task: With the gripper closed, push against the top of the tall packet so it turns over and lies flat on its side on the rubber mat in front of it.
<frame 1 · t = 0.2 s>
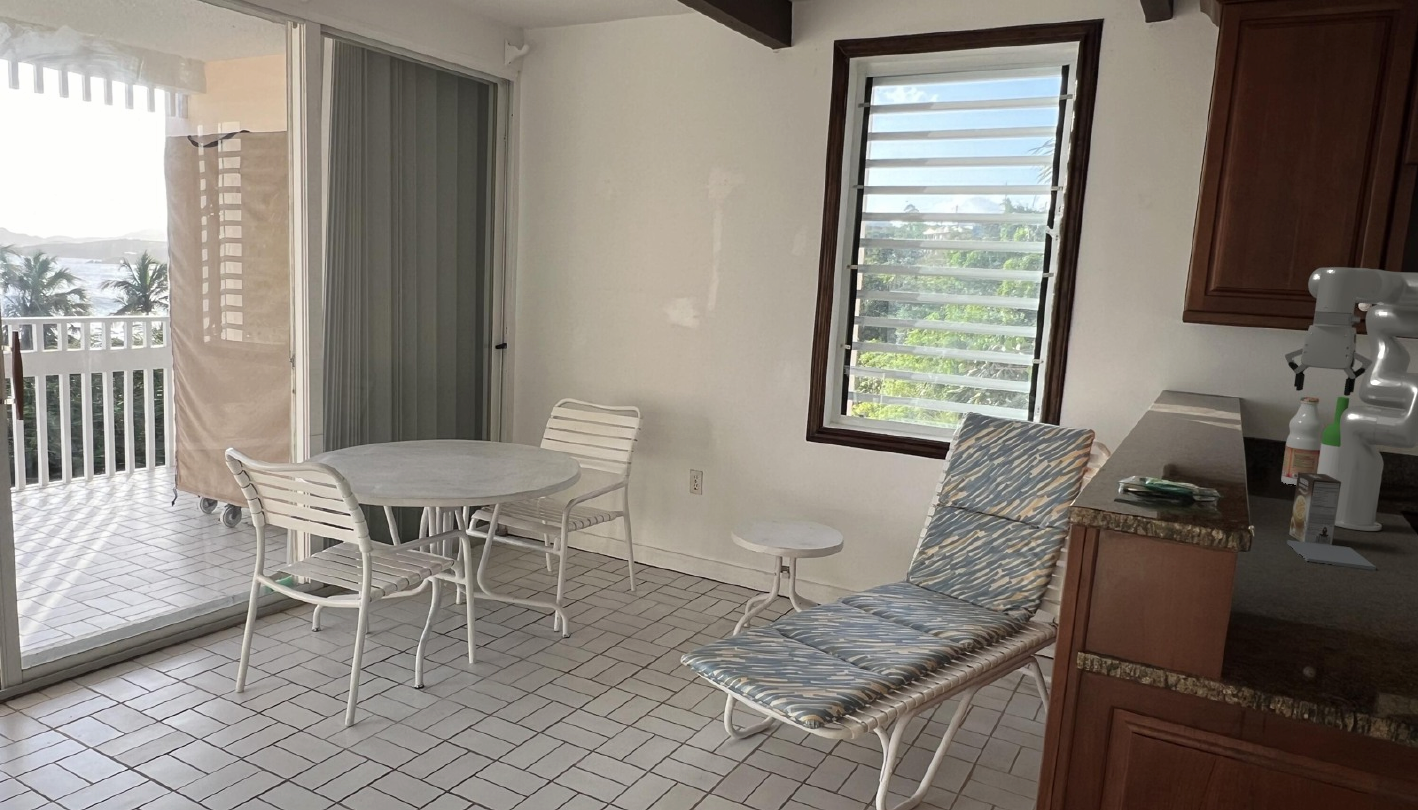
hand: (1322, 392, 215), 36 cm above the countertop, tool pointing down, fingers open, 9 cm apart
fruit juice: (1297, 485, 291), on the countertop
coffee box: (1309, 541, 222), on the countertop
rubber mat: (1329, 556, 208), on the countertop
wine bottle: (1329, 495, 277), on the countertop
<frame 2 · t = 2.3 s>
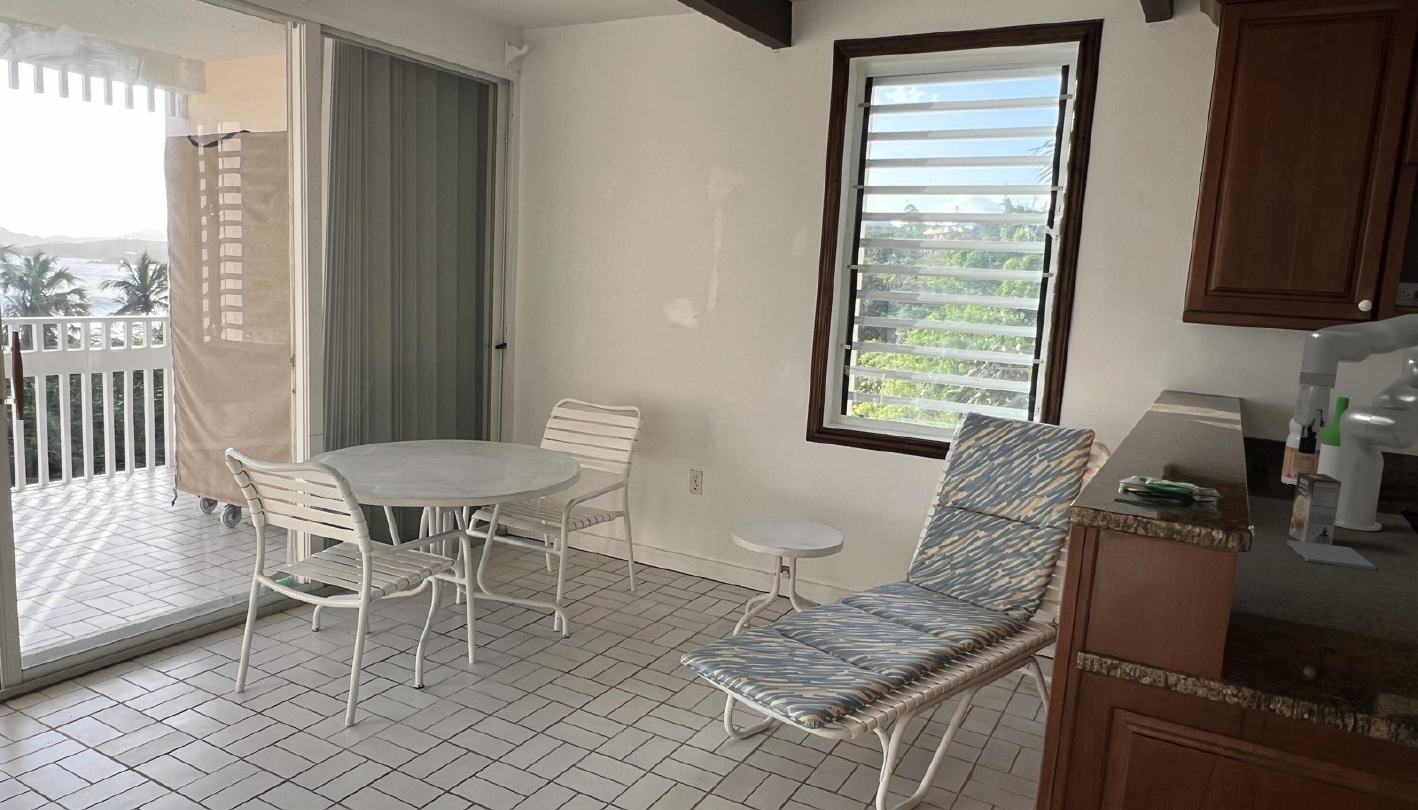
hand: (1306, 452, 229), 20 cm above the countertop, tool pointing down, fingers closed
nothing on the countertop moved.
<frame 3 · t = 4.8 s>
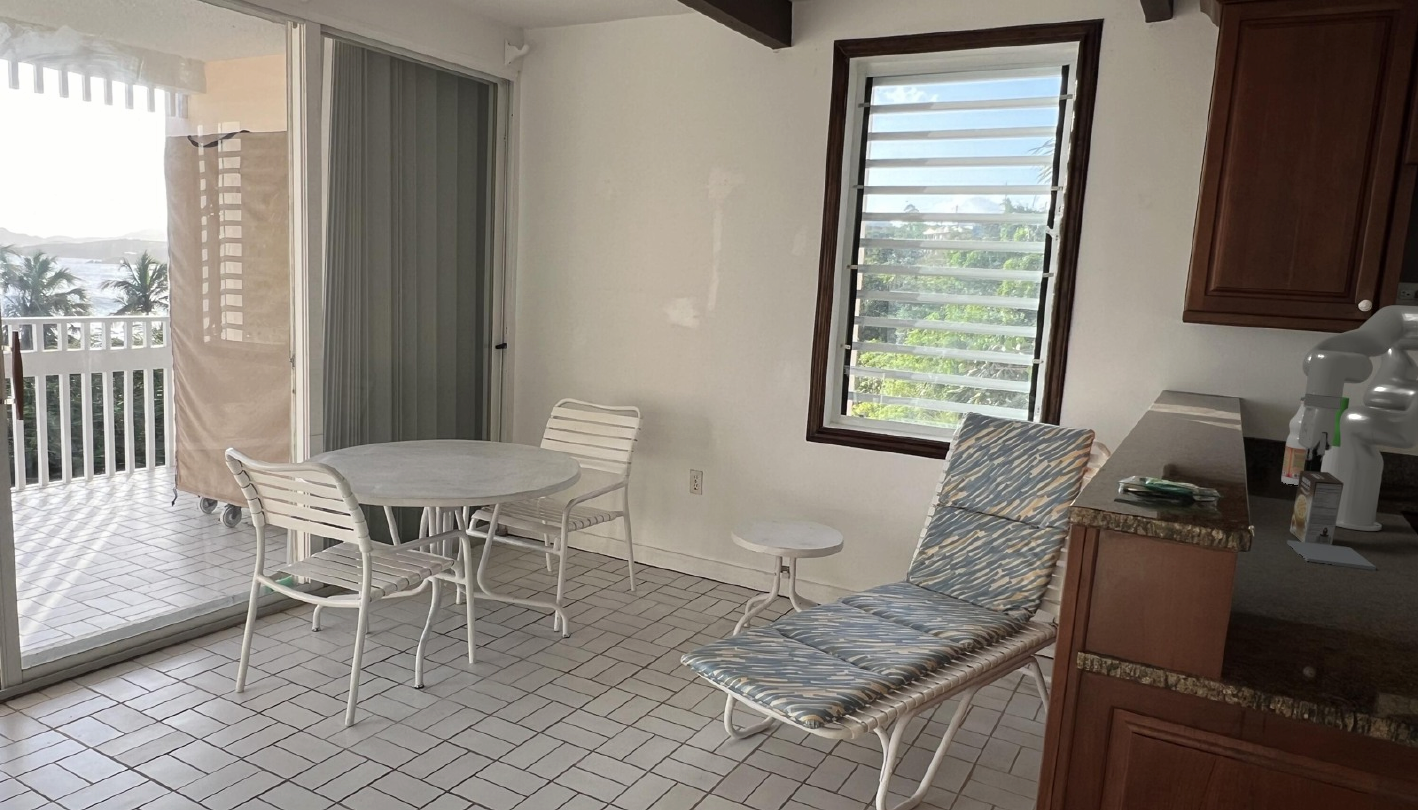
hand: (1311, 476, 224), 15 cm above the countertop, tool pointing down, fingers closed
coffee box: (1310, 539, 222), on the countertop, touching gripper
everything else where it was.
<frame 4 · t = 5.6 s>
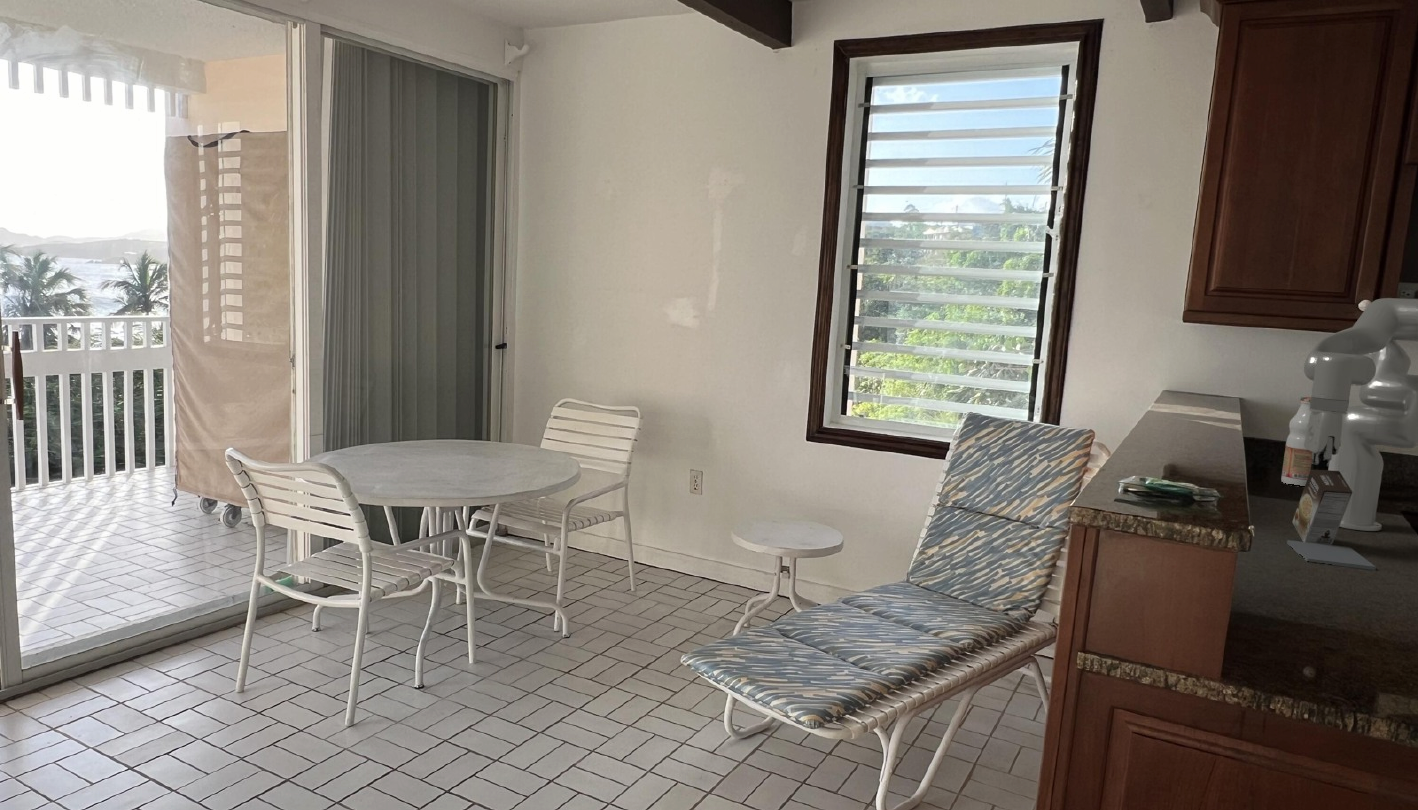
hand: (1317, 480, 220), 15 cm above the countertop, tool pointing down, fingers closed
coffee box: (1311, 534, 221), point 1 cm above the countertop, touching gripper
everything else where it was.
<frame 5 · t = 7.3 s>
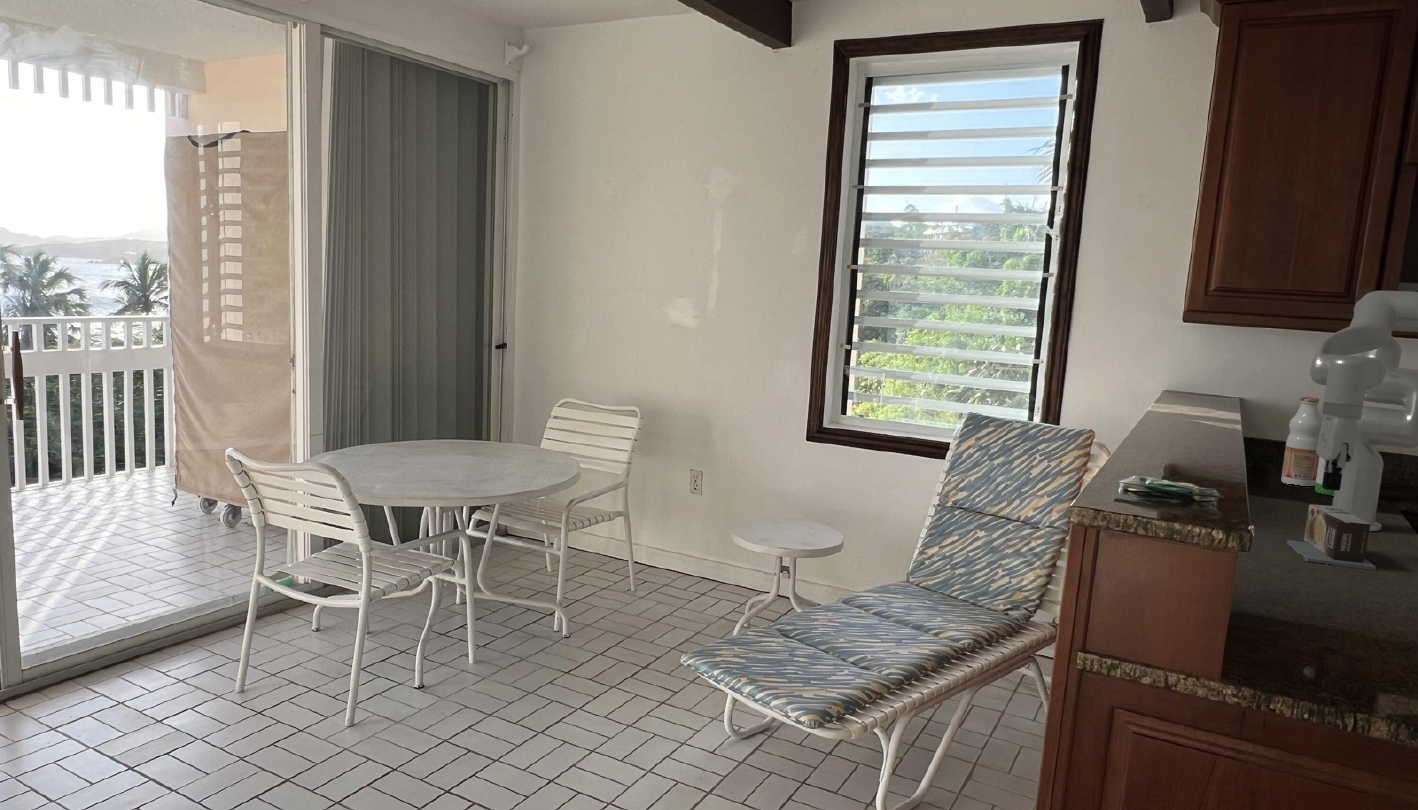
hand: (1330, 489, 211), 15 cm above the countertop, tool pointing down, fingers closed
coffee box: (1319, 523, 217), point 5 cm above the countertop, touching rubber mat
everything else where it was.
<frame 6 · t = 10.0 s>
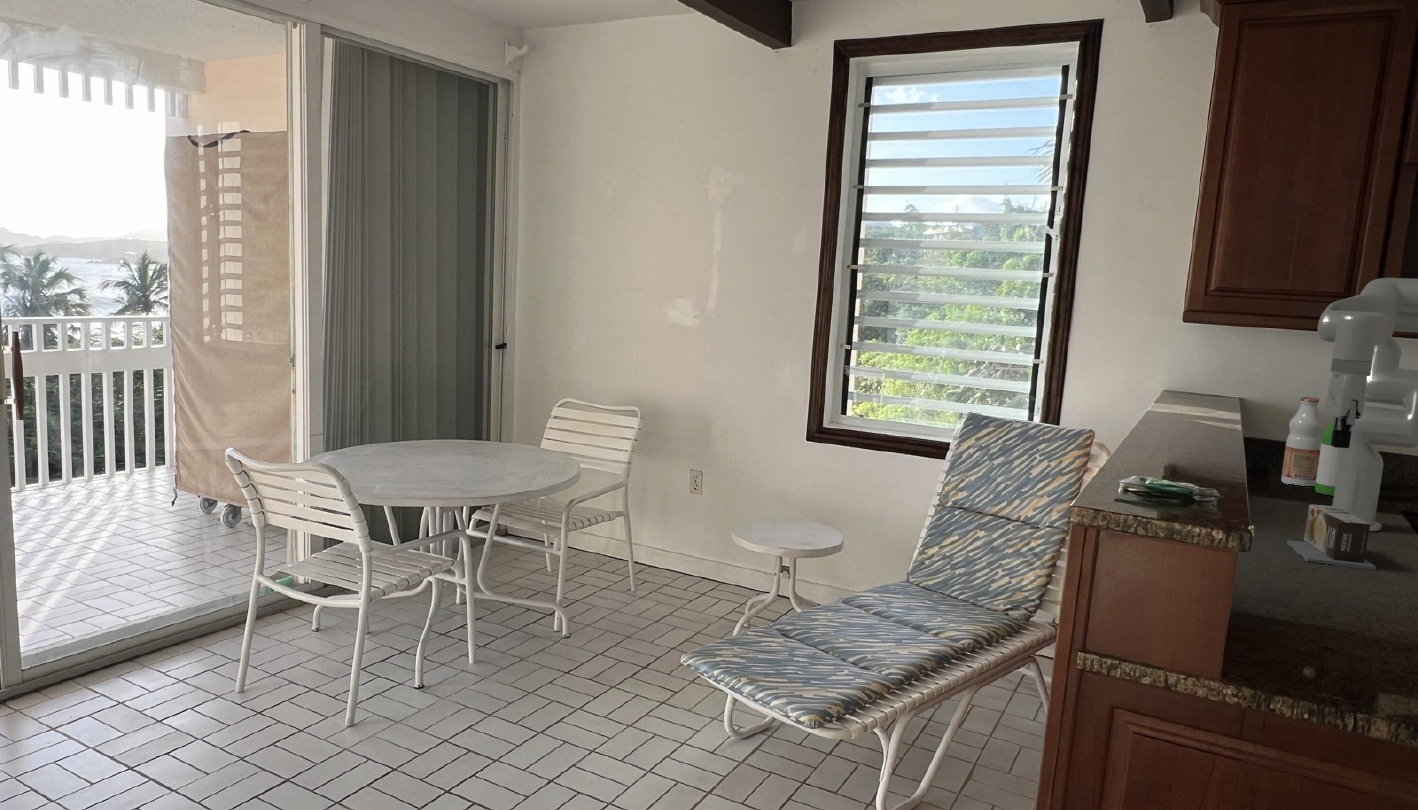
hand: (1339, 447, 209), 25 cm above the countertop, tool pointing down, fingers closed
nothing on the countertop moved.
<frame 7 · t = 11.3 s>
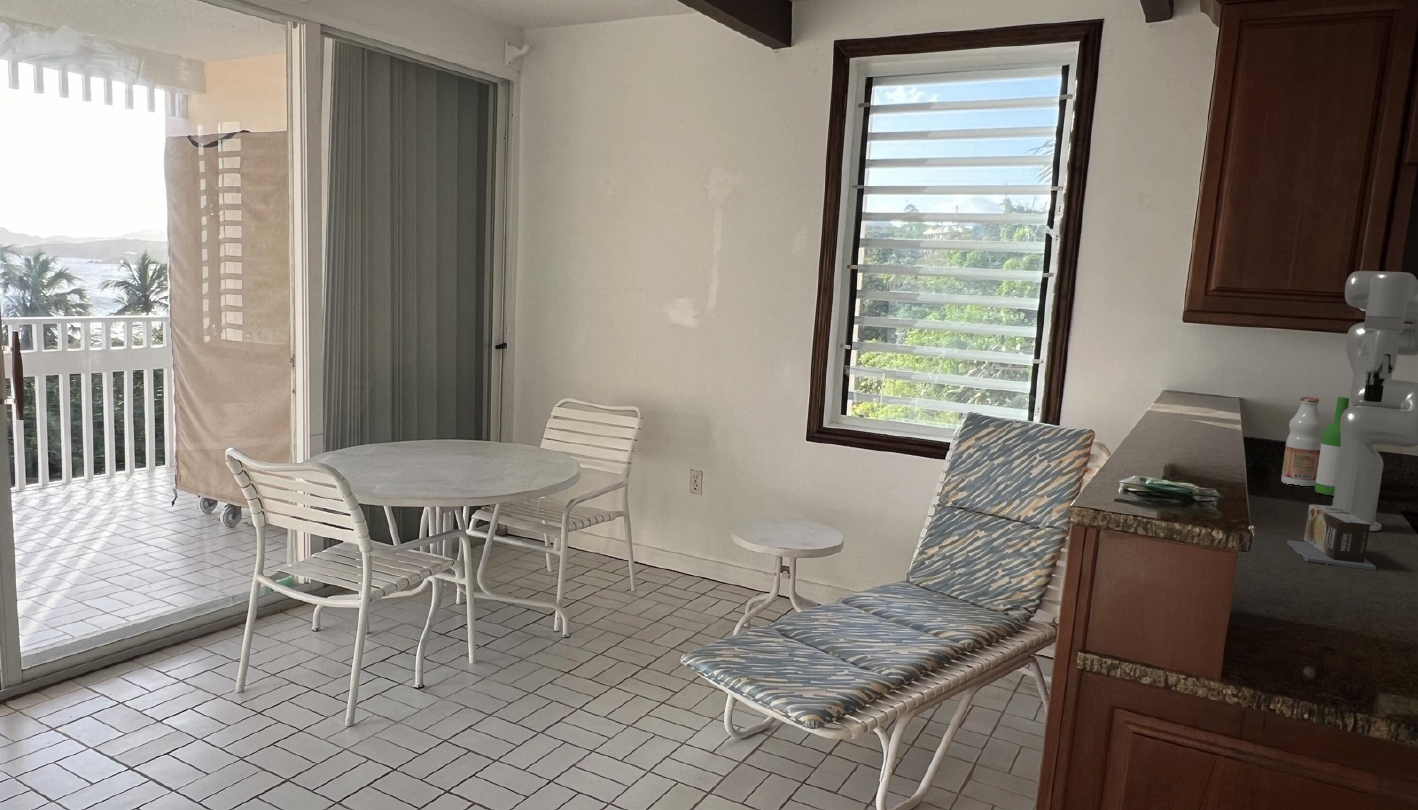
hand: (1372, 401, 218), 35 cm above the countertop, tool pointing down, fingers closed
nothing on the countertop moved.
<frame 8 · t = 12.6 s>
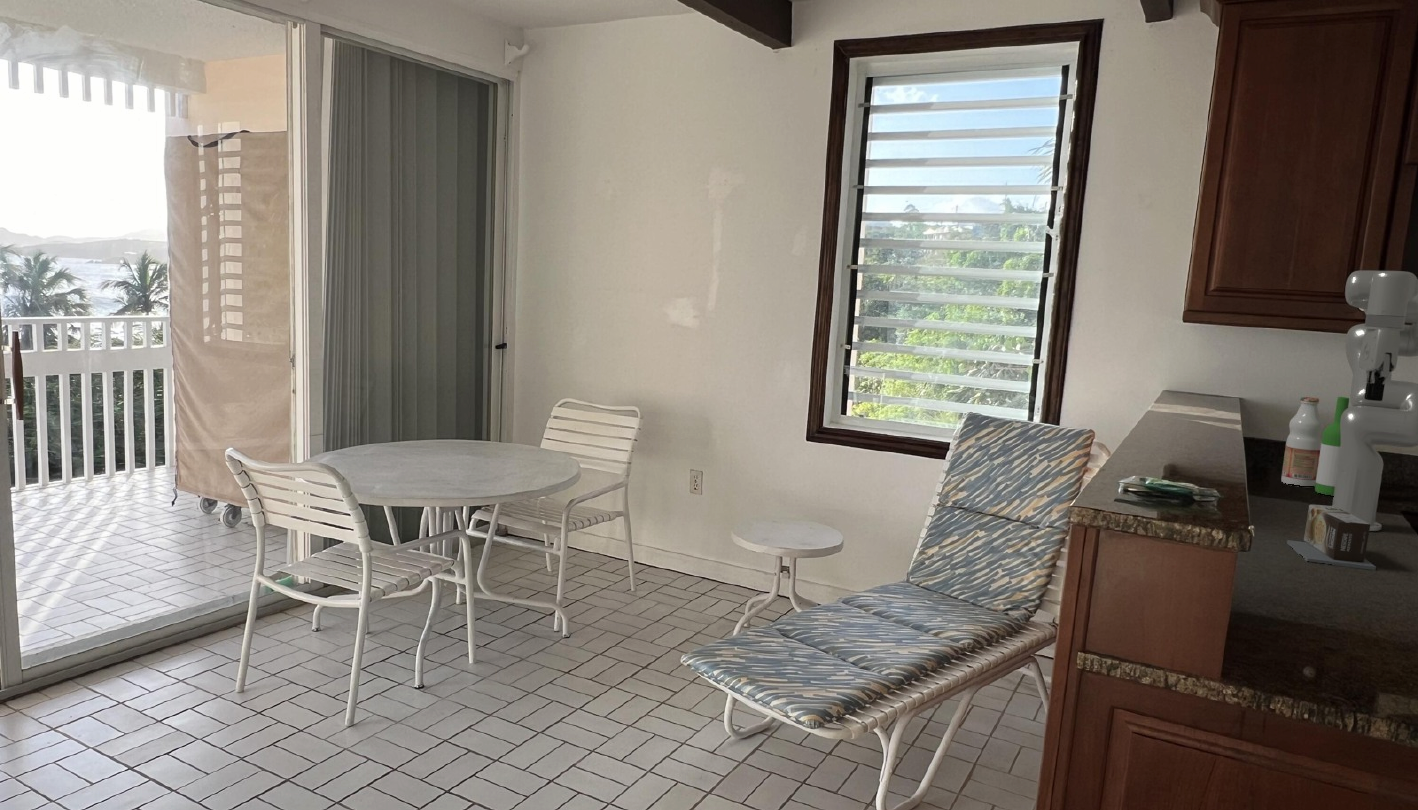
hand: (1373, 400, 218), 35 cm above the countertop, tool pointing down, fingers closed
nothing on the countertop moved.
at the end: coffee box tilted 89°; coffee box inside the target area (1.1 cm from its centre), point 5.2 cm above the countertop; coffee box touching rubber mat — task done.
